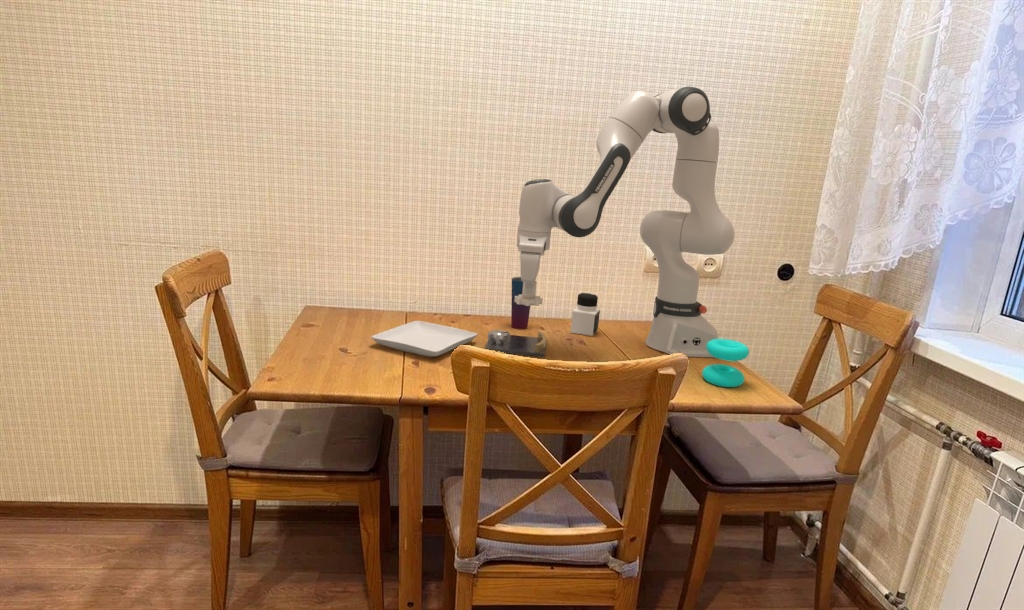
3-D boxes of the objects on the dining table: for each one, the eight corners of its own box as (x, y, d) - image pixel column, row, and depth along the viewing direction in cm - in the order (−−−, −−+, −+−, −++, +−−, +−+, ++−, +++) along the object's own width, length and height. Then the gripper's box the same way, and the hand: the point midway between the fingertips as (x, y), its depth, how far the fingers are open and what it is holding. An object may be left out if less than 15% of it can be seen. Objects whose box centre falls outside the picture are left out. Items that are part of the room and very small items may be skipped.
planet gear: (542, 301, 167) (544, 279, 165) (541, 307, 159) (543, 285, 158) (515, 298, 167) (517, 277, 166) (513, 304, 160) (514, 282, 159)
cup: (531, 324, 189) (534, 277, 185) (529, 330, 183) (533, 282, 179) (509, 322, 190) (512, 276, 186) (507, 328, 183) (510, 280, 179)
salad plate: (415, 329, 177) (416, 318, 176) (478, 343, 168) (479, 332, 167) (368, 348, 158) (368, 335, 157) (436, 365, 149) (437, 351, 148)
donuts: (739, 338, 153) (757, 350, 144) (733, 375, 156) (750, 390, 146) (701, 336, 153) (716, 348, 143) (695, 373, 155) (710, 388, 146)
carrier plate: (546, 341, 173) (547, 330, 172) (543, 357, 159) (545, 344, 158) (491, 336, 174) (492, 324, 173) (484, 351, 161) (484, 338, 160)
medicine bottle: (593, 336, 181) (597, 297, 178) (570, 332, 183) (573, 294, 180) (597, 330, 188) (601, 293, 185) (575, 327, 190) (579, 290, 187)
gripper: (524, 235, 170) (521, 283, 173) (518, 245, 150) (514, 299, 153) (547, 237, 169) (542, 285, 172) (543, 247, 149) (538, 301, 153)
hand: (529, 292), depth 163 cm, fingers closed on planet gear, 4 cm apart
